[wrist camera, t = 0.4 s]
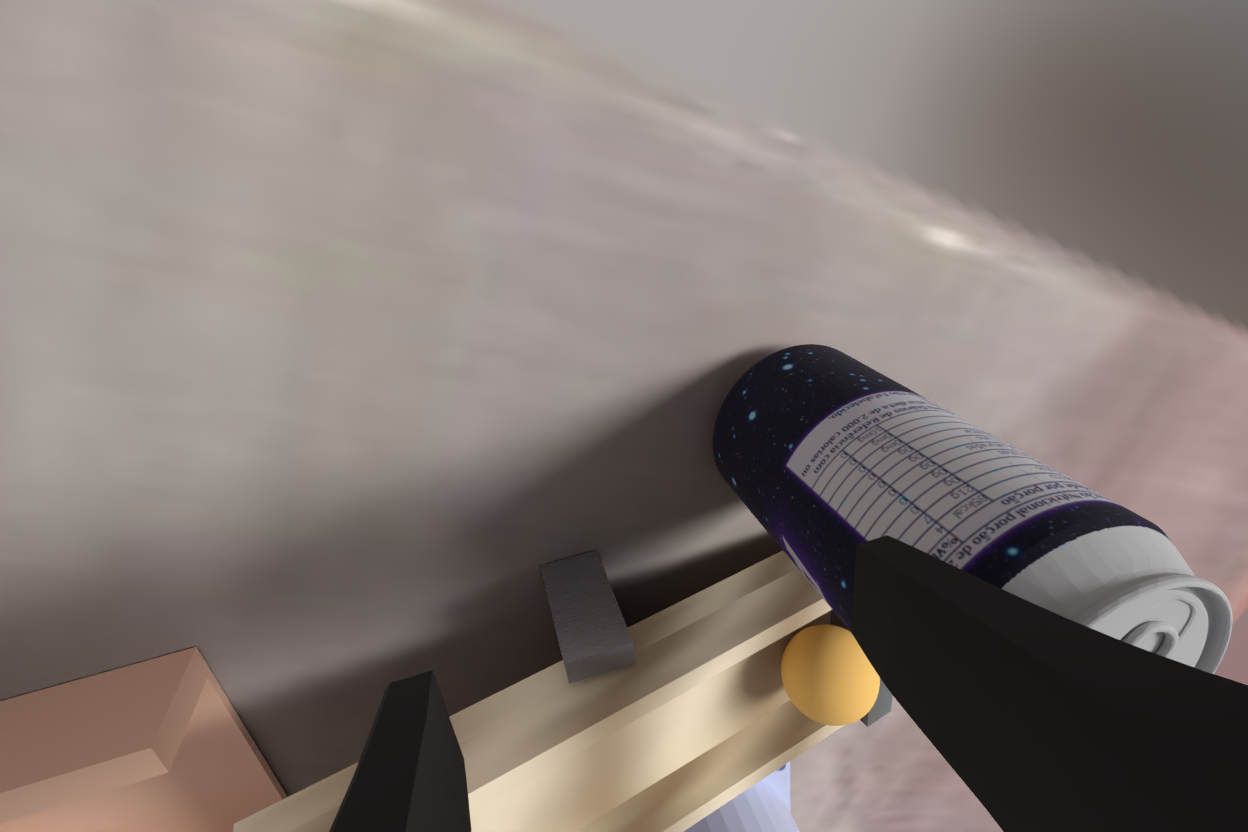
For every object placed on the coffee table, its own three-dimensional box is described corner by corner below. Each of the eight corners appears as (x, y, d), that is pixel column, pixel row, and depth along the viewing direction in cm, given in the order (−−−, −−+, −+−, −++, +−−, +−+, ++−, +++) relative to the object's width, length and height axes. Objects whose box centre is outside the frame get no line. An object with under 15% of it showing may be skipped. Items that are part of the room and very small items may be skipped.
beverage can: (671, 458, 21) (916, 796, 10) (760, 307, 19) (1149, 521, 9) (794, 506, 23) (1095, 819, 13) (881, 374, 22) (1301, 605, 11)
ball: (819, 654, 24) (896, 707, 22) (762, 703, 22) (838, 766, 20) (820, 591, 22) (903, 640, 20) (760, 639, 21) (842, 698, 19)
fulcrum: (629, 725, 26) (663, 831, 22) (581, 741, 25) (609, 852, 21) (596, 549, 21) (633, 642, 18) (539, 566, 21) (564, 663, 17)
